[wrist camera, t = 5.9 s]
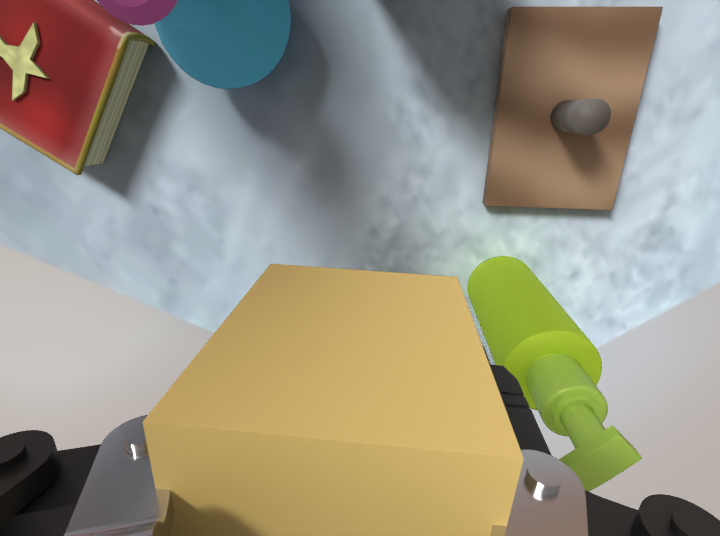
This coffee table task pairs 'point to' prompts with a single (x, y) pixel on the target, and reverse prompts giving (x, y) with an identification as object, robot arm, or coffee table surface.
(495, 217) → the coffee table surface
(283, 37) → the perfume bottle
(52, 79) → the hardcover book
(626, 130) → the post board
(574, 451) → the soap dispenser
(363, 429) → the tan wooden block
